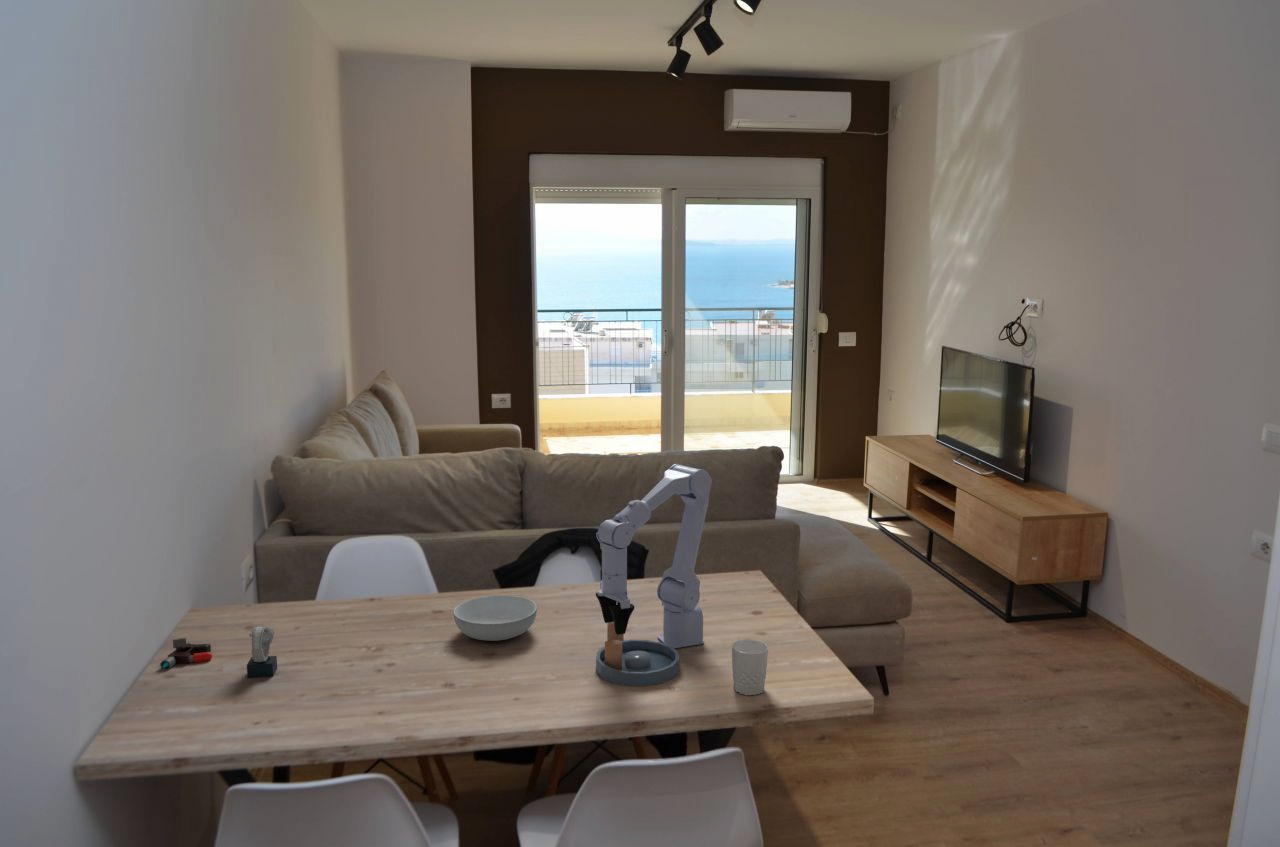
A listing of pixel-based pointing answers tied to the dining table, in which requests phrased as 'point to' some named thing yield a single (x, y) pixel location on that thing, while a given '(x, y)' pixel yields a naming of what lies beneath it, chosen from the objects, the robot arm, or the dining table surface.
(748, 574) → the dining table surface
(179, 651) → the toy gun
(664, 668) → the ring tray
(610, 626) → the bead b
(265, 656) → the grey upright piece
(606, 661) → the tan wooden cylinder
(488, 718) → the dining table surface
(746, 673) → the grey cup
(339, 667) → the dining table surface
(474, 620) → the serving bowl
